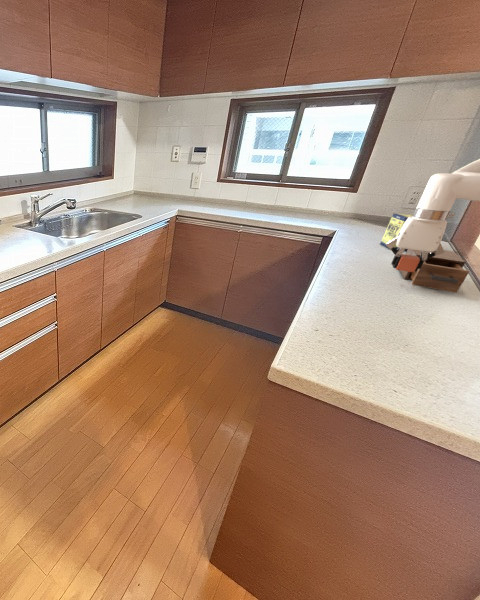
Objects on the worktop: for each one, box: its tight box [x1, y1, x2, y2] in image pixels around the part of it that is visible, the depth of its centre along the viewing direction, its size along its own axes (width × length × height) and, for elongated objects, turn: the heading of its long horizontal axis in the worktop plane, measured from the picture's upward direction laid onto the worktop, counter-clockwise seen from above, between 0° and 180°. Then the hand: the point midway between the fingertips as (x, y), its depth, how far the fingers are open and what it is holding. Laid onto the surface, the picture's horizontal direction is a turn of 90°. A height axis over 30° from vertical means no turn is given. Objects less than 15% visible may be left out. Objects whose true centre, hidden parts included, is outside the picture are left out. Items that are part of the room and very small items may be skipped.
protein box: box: [380, 213, 413, 252], centre depth 155 cm, size 10×16×16 cm
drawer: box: [410, 257, 470, 294], centre depth 114 cm, size 18×11×8 cm, turn 145°
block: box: [395, 253, 420, 272], centre depth 110 cm, size 4×4×4 cm
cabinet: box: [399, 249, 466, 281], centre depth 122 cm, size 15×13×10 cm
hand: (404, 268), depth 111 cm, fingers closed on block, 4 cm apart
